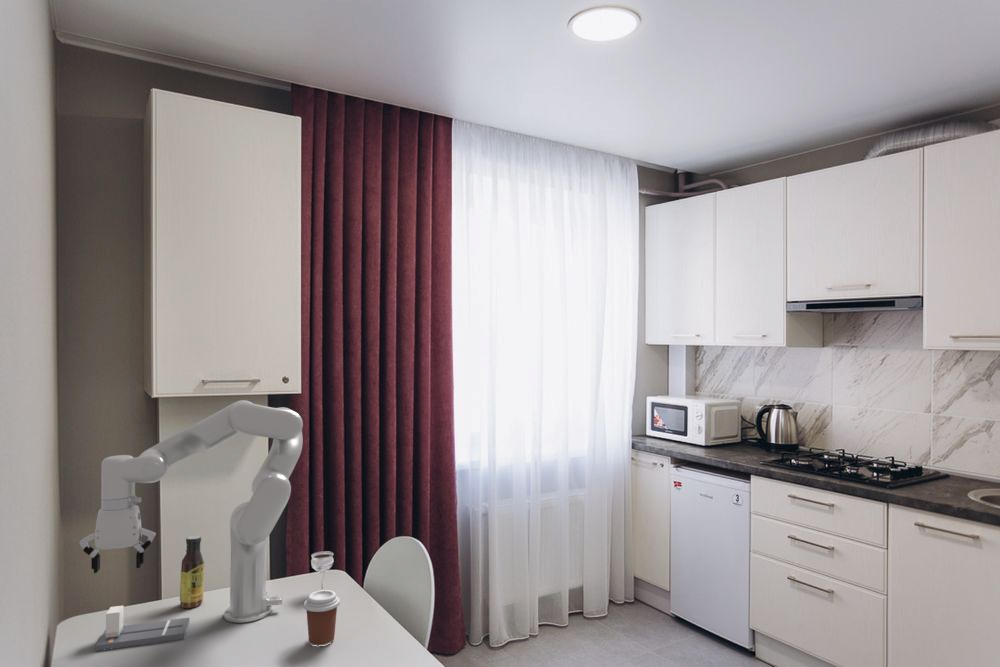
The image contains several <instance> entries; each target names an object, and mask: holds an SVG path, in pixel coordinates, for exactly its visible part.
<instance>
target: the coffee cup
mask: <svg viewBox="0 0 1000 667" xmlns="http://www.w3.org/2000/svg"><path fill="white" fill-rule="evenodd" d="M340 601H341V598H340V597H338V596H337V592H335V590H329V589H323V590H320V589H319V590H316V591H313V592H311V593H310V594H308V597H307V599H306V600H305V601H304V603H303V608H304V609H305V610H306V620H307V621H306V622H307V632H308V633H307V634H308V644H309V643H310V644H312V645H317V646H319V645H326V644H328V643H331V642H332V641H333V640H334V641H335V634H336V621H337V611H338V610H337V609H338V607H339V606H340ZM310 644H309V645H310Z"/></svg>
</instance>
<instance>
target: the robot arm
mask: <svg viewBox="0 0 1000 667" xmlns="http://www.w3.org/2000/svg"><path fill="white" fill-rule="evenodd" d="M303 423H304V422H303V418H302V417H301V415H300V414H299V413H298V412H296V411H294V410H293V409H290V408H289V407H283V406H282V407H280V406H279V407H270V406H266V405H261V404H256V403H253V402H251V401H249V400H246V399H243V400H242V399H241V400H238V401H235V402H233V403H231V404H229V405H228V406H226V407H224V408H222V409H220V410H219V411H216V412H215V413H213V414H211V415H209V416H208V417H206V418H204V419H202V420H200V421H199V422H197V423H195V424H193V425H191V426H189V427H187V428H185V429H183V430H182V431H179V432H178V433H175V434H174V435H172V436H169V437H168V438H166V439H163V440H162V441H160V442H158V443H157V444H154V445H153V446H151V447H150V448H147V449H146V450H144V451H143V452H141V454H140V455H139V456H137V457H134V456H133V455H129V454H118V455H117V454H116V455H112V456H108V457H105V458H104V459H103V460H102V462H101V468H100V469H101V477H100V478H101V480H100V481H101V482H100V483H101V489H100V490H101V492H100V493H101V498H100V499H101V504H100V505H101V506H100V509H99V510H98V513H97V516H96V523H95V532H93V533H91V534H89V535H87V536H86V537H84V538H82V539H80V541H79V542H78V544H79V546H80V547H81V549H82V550H83V552H84V553H85V554H87V555H88V557H89V558H91V566H90V567H91V570H93V574H97V573H98V572H99V571H100V570H101V554H100V553H99V552H100V551H101V550H113V549H121V548H129V547H133V548H134V549H135V550H136V551H137V552H136V555H135V556H136V558H135V559H136V563H135V564H136V566H135V568H136V569H140V568H141V566H142V565H143V564H144V563H145V550H147V548H149V546H151V544H152V542H153V540H154V539H155V536H156V535H157V533H156V532H154V531H152V530H150V529H146V528H144V527H142V519H141V518H142V517H141V512H140V511H141V510H140V506H139V505H136V504H138V503H141V502H142V497H141V496H140V497H138V496H136V483H137V484H138V483H140V484H152V483H153V484H154V483H157V482H158V481H159V482H160V481H161V480H162V479H163V478H164V477H166V475H167V473H168V470H169V468H171V467H172V466H174V465H175V464H178V463H179V462H181V461H183V460H185V459H186V458H189V457H191V456H194V455H199V454H204V453H208V452H210V451H213V450H214V449H216V448H217V447H220V446H221V445H223V444H224V443H226V442H228V441H229V440H231V439H232V438H235V437H237V436H238V435H240V434H246V435H251V436H256V437H263V438H269V439H273V440H272V443H271V444H272V445H271V447H270V450H269V452H268V454H267V456H266V457H265V459H264V461H263V463H262V464H261V467H260V468H259V470H258V472H257V473H256V475H255V477H254V478H253V480H252V483H251V491H252V493H253V494H252V495H251V498H250V499H249V501H245V502H242V503H239V505H237V506H236V507H235V508H234V510H233V511H232V513H231V514H230V515H231V516H230V518H229V532H230V568H229V569H230V575H229V576H230V577H229V578H230V582H229V584H230V585H229V587H230V589H229V607H228V608H226V609H225V610H224V612H223V618H224V620H226V621H227V622H230V623H238V624H240V623H242V624H243V623H251V622H254V621H258V620H261V619H264V618H265V617H267V616H268V615H269V614H270V613H271V611H272V606H281V605H283V597H279V596H278V595H273V596H270V595H268V591H267V538H268V537H269V536H270V534H271V533H272V531H273V529H274V528H275V526H276V524H277V522H278V520H280V517H281V515H282V513H283V512H284V509H285V508H286V506H287V504H288V501H289V499H290V498H291V497H290V496H291V492H292V485H291V481H290V480H289V478H290V477H291V475H292V473H293V471H294V470H295V467H296V464H297V463H298V462H299V461H298V460H299V458H300V456H301V454H302V451H303V443H304V441H303V427H304V424H303ZM142 536H146V537H147V540H146V541H145V542H144V543H143V542H142V541H141V540H142ZM93 540H94V548H93V547H92V546H90V545H89V542H91V541H93Z"/></svg>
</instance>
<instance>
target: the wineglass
mask: <svg viewBox="0 0 1000 667" xmlns="http://www.w3.org/2000/svg"><path fill="white" fill-rule="evenodd" d="M310 555H311V560H310V562H311V563H310V564H311V568H312V569H314V570H315V571H316V572H318V573H319V574H320V583H321V590H324V576H325V573H326V572H327V571H329V570H330V569H331V568H332V566H333V565H334V562H335V561H334V557H333V556H334V552H332V551H330V550H329V551H328V550H327V551H326V550H325V551H317V552H314V553H312V554H310Z"/></svg>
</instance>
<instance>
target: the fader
mask: <svg viewBox="0 0 1000 667" xmlns="http://www.w3.org/2000/svg"><path fill="white" fill-rule="evenodd" d="M124 611H125V610H124V605H116V606H110V607H109V609H108V610H107V612H106V613H105V630H106V634H105V638H109V637H116V636H119V635H120V633H121V631H122V630H123V628H124V626H125V625H124Z"/></svg>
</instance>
